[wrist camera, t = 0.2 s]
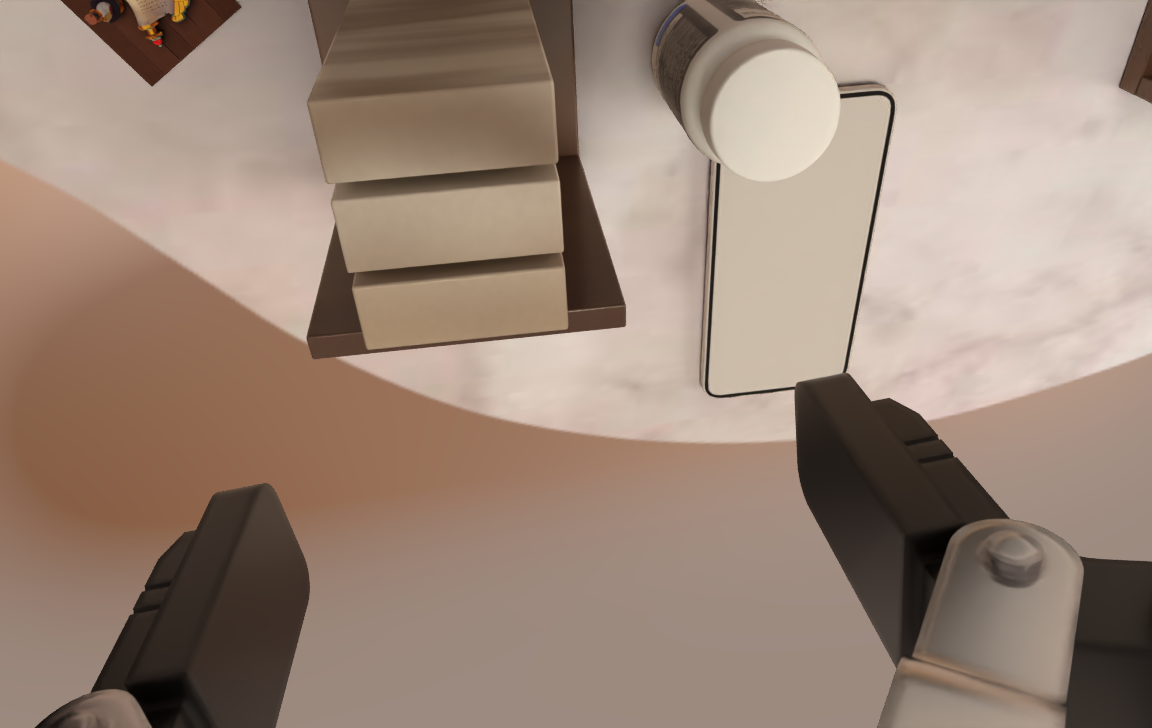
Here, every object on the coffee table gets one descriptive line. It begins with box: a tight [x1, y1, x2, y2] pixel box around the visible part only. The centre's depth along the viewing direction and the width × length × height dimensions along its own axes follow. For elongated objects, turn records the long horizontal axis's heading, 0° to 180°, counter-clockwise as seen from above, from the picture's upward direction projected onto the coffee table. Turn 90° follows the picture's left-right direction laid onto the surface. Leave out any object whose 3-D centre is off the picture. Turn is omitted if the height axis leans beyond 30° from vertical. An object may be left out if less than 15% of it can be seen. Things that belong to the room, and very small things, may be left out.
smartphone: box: [701, 84, 897, 399], centre depth 37 cm, size 7×1×15 cm
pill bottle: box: [652, 0, 841, 182], centre depth 28 cm, size 5×5×8 cm
